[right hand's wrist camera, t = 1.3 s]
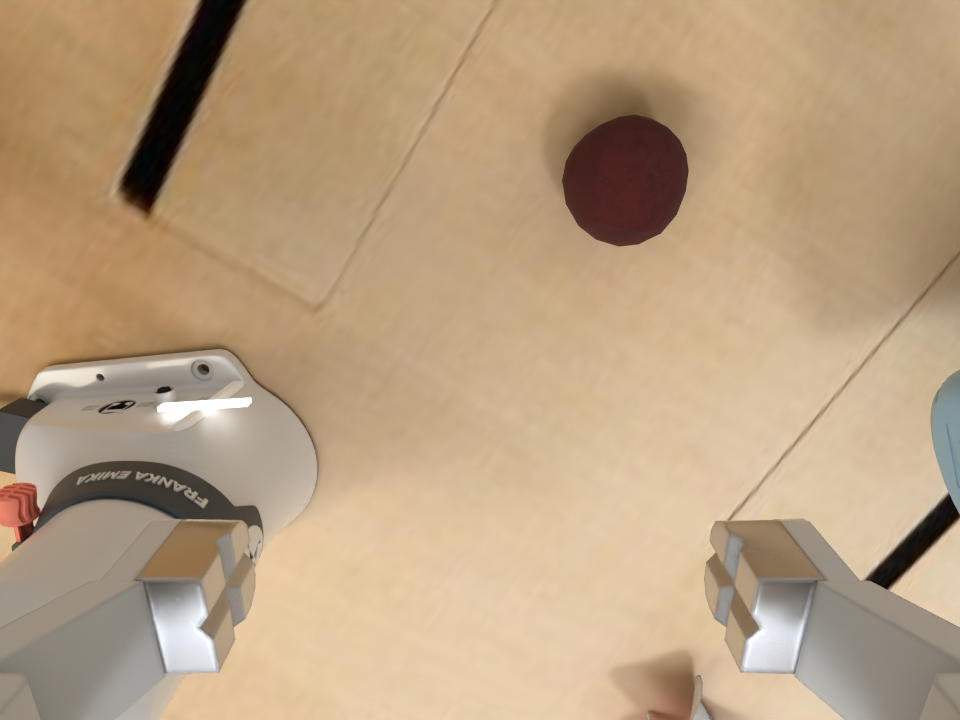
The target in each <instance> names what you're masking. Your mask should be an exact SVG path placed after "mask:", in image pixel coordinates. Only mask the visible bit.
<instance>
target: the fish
mask: <svg viewBox="0 0 960 720" xmlns="http://www.w3.org/2000/svg"><path fill="white" fill-rule="evenodd" d="M701 698H702V679H701V676H700V675H698V676H697V677H696V679H695V690H694V696H693V705H692V710H691V714H690V718H689V720H713V718H712V717H711V715H710V714H709V712H708V711H707V709H706V708H705V706H704V705H703V703H702V701H701ZM647 719H648V720H650V717H649V714H647Z"/></svg>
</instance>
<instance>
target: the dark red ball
mask: <svg viewBox="0 0 960 720" xmlns="http://www.w3.org/2000/svg"><path fill="white" fill-rule="evenodd" d="M687 178H688V164H687V157H686V153H685V151H684V149H683V146H682V144H681V142H680V140H679V139H678V138H677V137H676V136H675V135H674V134H673V133H672V131H671V130H670V129H669V128H667V127H666V126H664V125H662V124H660V123H659V122H657V121H655V120H653V119H651V118H646V117H642V116H638V115H630V116H623V117H618V118H615V119H613V120H611V121H608V122H606V123H604V124H602V125H600V126H598V127H597V128H595V129H594V130H592V131H591V132H590V133H588V134H587V135H586V136H585V137H584V138H583V139H582V140H581V141H580V142H579V143H578V144H577V145H576V146H575V147H574V148H573V150H572V152H571V154H570V155H569V157H568V159H567V161H566V164H565V169H564V174H563V179H562V182H563V188H564V194H565V201H566V205H567V207H568V208H569V210H570V212H571V213H572V215H573V217H574V219H575V220H576V222H577V224H578V226H580V227H581V228H582V229H583V230H585V231H586V232H587V233H589V234H590V235H591V236H592V237H594V238H595V239H596V240H600V241H603V242H606V243H609V244H613V245H616V246H627V245H637V244H640V243H642V242H644V241H646V240H648V239H650V238H652V237H654V236H656V235H658V234H661V233H662V231H663V230H664V229H665V228H666V227H667V225H668V224H669V223H670V222H671V221H672V220H673V218H674V217H675V216H676V215H677V212H678V210H679V207H680V204H681V202H682V199H683V197H684V194H685V191H686V185H687Z"/></svg>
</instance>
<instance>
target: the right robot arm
mask: <svg viewBox="0 0 960 720" xmlns="http://www.w3.org/2000/svg"><path fill="white" fill-rule="evenodd" d="M202 364H205V365H207V366H208V368H209V372H208V371H205V370H204V369H203V368H202ZM41 399H42V400H44V401H45V403H43V402H42V400H41ZM0 471H3V472H8V473H12V474H16V481H17V483H15V484H12V485H8V486H5V487H3V489H0V524H1V525H2V526H5V527H14V532H15V537H16V541H17V542H16V543H15V544H13V545H12V552H11V553H10V554H9V555H8V556H7V557H6V558H4V559H3V560H2V561H1V562H0V720H160V719H161V717H162V716H163V714H164V712H165V710H166V709H167V707H168V705H169V703H170V702H171V700H172V698H173V696H174V695H175V693H176V691H177V689H178V687H179V686H180V684H181V682H182V680H183V679H184V677H185V675H186V673H216V672H220V670H221V668H222V666H223V664H224V662H225V660H226V658H227V656H228V654H229V651H230V649H231V647H232V645H233V643H234V641H235V634H234V628H233V627H235V626H236V625H237V624H239V623H240V622H241V621H243V620H244V619H245V618H246V616H247V614H248V612H249V610H250V608H251V605H252V601H253V596H254V592H255V568H256V565H257V563H258V560H259V557H260V555H261V552H262V550H263V549H264V548H265V547H266V545H267V544H268V543H269V542H270V541H271V540H272V538H273V537H274V536H275V535H276V534H277V533H278V532H279V531H280V530H281V529H283V528H284V527H285V526H286V525H288V524H289V523H290V522H292V521H293V520H294V519H295V518H296V517H297V516H299V515H300V513H301V512H302V511H303V510H304V509H305V507H306V506H307V504H308V503H309V501H310V499H311V497H312V495H313V492H314V489H315V486H316V481H317V458H316V453H315V450H314V446H313V443H312V441H311V438H310V436H309V434H308V432H307V431H306V429H305V427H304V426H303V424H302V423H301V421H300V420H299V419H298V417H297V416H296V415H295V414H294V413H293V412H292V411H291V410H290V409H289V408H288V407H287V406H286V405H285V404H284V403H283V402H282V401H280V400H279V399H278V398H277V397H275V396H274V395H272V394H271V393H269V392H268V391H266V390H265V389H263V388H262V387H261V386H259V385H258V384H257V383H256V382H255V381H254V380H253V379H252V377H251V376H250V374H249V373H248V371H247V370H246V369H245V367H244V366H243V365H242V363H241V362H240V361H239V360H238V358H237V357H236V356H235V355H233V354H232V353H231V352H229V351H227V350H223V349H213V350H202V351H192V352H182V353H172V354H162V355H151V356H141V357H131V358H121V359H110V360H100V361H90V362H80V363H70V364H60V365H53V366H48V367H46V368H44V369H43V370H42V371H40V372H39V373H38V374H37V375H36V377H35V379H34V381H33V383H32V385H31V387H30V390H29V393H28V397H27V399H25V398H19V399H18V400H16V401H14V402H12V403H10V404H8V405H7V406H5V407H3V408H1V409H0ZM710 542H711V544H712V546H713V548H714V550H715V552H716V553H715V554H714V555H713V556H712V557H711V558H710V559H709V560H708V561H707V562H706V569H705V577H704V581H705V592H706V597H707V601H708V605H709V608H710V610H711V612H712V614H713V616H714V618H715V619H716V620H717V621H719V622H720V623H721V624H723V625H724V626H725V627H727V628H726V634H725V641H726V643H727V645H728V647H729V649H730V651H731V653H732V655H733V658H734V660H735V662H736V664H737V666H738V668H739V670H740V672H743V673H778V674H795V676H794V677H796V678H797V679H798V680H799V681H800V682H801V683H803V684H804V685H805V686H806V687H807V688H808V689H810V690H811V691H812V692H813V693H814V694H815V695H817V696H818V697H819V698H820V699H821V700H822V701H824V702H825V703H826V704H827V705H828V706H829V707H831V708H832V709H833V710H834V711H835V712H836V713H838V714H839V715H840V716H841V717H842V718H843V719H845V720H960V627H958V626H956V625H954V624H952V623H950V622H948V621H946V620H944V619H942V618H940V617H938V616H936V615H934V614H933V613H931V612H929V611H927V610H925V609H923V608H921V607H919V606H917V605H915V604H913V603H911V602H909V601H908V600H906V599H904V598H902V597H900V596H898V595H896V594H894V593H892V592H890V591H888V590H886V589H884V588H882V587H881V586H879V585H877V584H875V583H873V582H871V581H860V580H859V579H858V578H857V576H856V575H855V574H854V573H853V572H852V571H851V569H850V568H849V567H848V566H847V565H846V564H845V562H844V561H843V560H842V559H841V558H840V557H839V555H838V554H837V553H836V552H835V551H834V550H833V548H832V547H831V546H830V545H829V544H828V543H827V541H826V540H825V539H824V538H823V537H822V536H821V534H820V533H819V532H818V531H817V530H816V529H815V527H814V526H813V525H812V524H811V523H810V522H809V521H807V520H805V519H774V520H752V521H715V523H714V525H713V527H712V530H711V536H710Z"/></svg>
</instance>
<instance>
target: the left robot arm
mask: <svg viewBox="0 0 960 720" xmlns="http://www.w3.org/2000/svg"><path fill="white" fill-rule="evenodd" d="M931 432H932V439H933V445H934V450H935V454H936V458H937V461H938V464H939V467H940V470H941V473H942V476H943V479H944V482H945V484H946V487H947V489H948V491H949V493H950V496H951V498H952V500H953V502H954V504H955V506H956V508H957V510H958V512H959V514H960V370H959V371H957V372H955V373H953V374H952V375H950V376H949V377H948V378H947V379H946V380H945V382H944V383H943V384H942V386H941V387H940V389H939V390H938V392H937V394H936V395H935V397H934V400H933V404H932V409H931Z"/></svg>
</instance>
